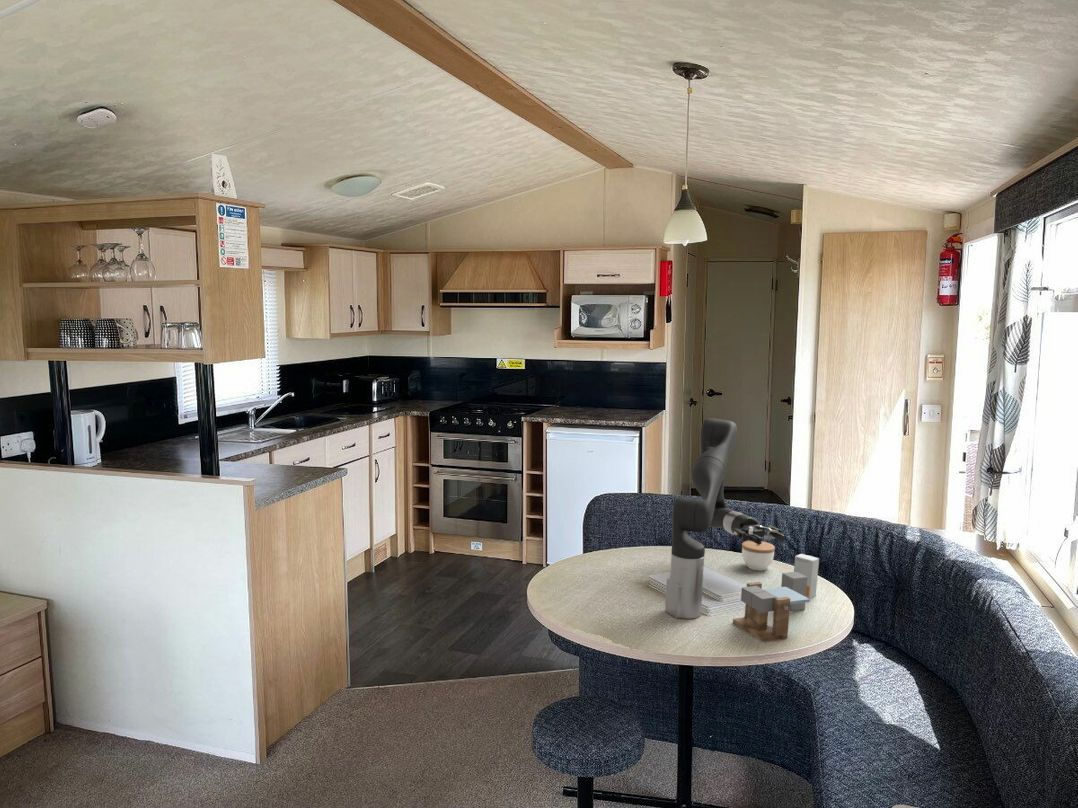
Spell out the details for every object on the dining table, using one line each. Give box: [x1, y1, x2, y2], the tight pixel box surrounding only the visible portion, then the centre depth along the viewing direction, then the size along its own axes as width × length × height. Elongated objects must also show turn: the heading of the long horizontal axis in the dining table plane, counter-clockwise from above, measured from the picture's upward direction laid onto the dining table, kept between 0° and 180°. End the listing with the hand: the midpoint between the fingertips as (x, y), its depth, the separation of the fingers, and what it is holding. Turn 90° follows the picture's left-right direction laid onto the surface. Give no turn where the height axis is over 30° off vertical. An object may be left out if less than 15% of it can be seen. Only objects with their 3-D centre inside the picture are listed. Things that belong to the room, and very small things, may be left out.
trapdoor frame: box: [732, 581, 790, 643], centre depth 221 cm, size 16×8×11 cm, turn 22°
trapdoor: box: [740, 586, 811, 613], centre depth 222 cm, size 10×15×4 cm, turn 112°
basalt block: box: [780, 571, 807, 613], centre depth 238 cm, size 5×5×10 cm
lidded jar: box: [741, 540, 776, 571], centre depth 274 cm, size 11×11×9 cm
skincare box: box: [793, 553, 820, 600], centre depth 250 cm, size 6×4×12 cm
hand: (772, 540), depth 247 cm, fingers open, 8 cm apart
